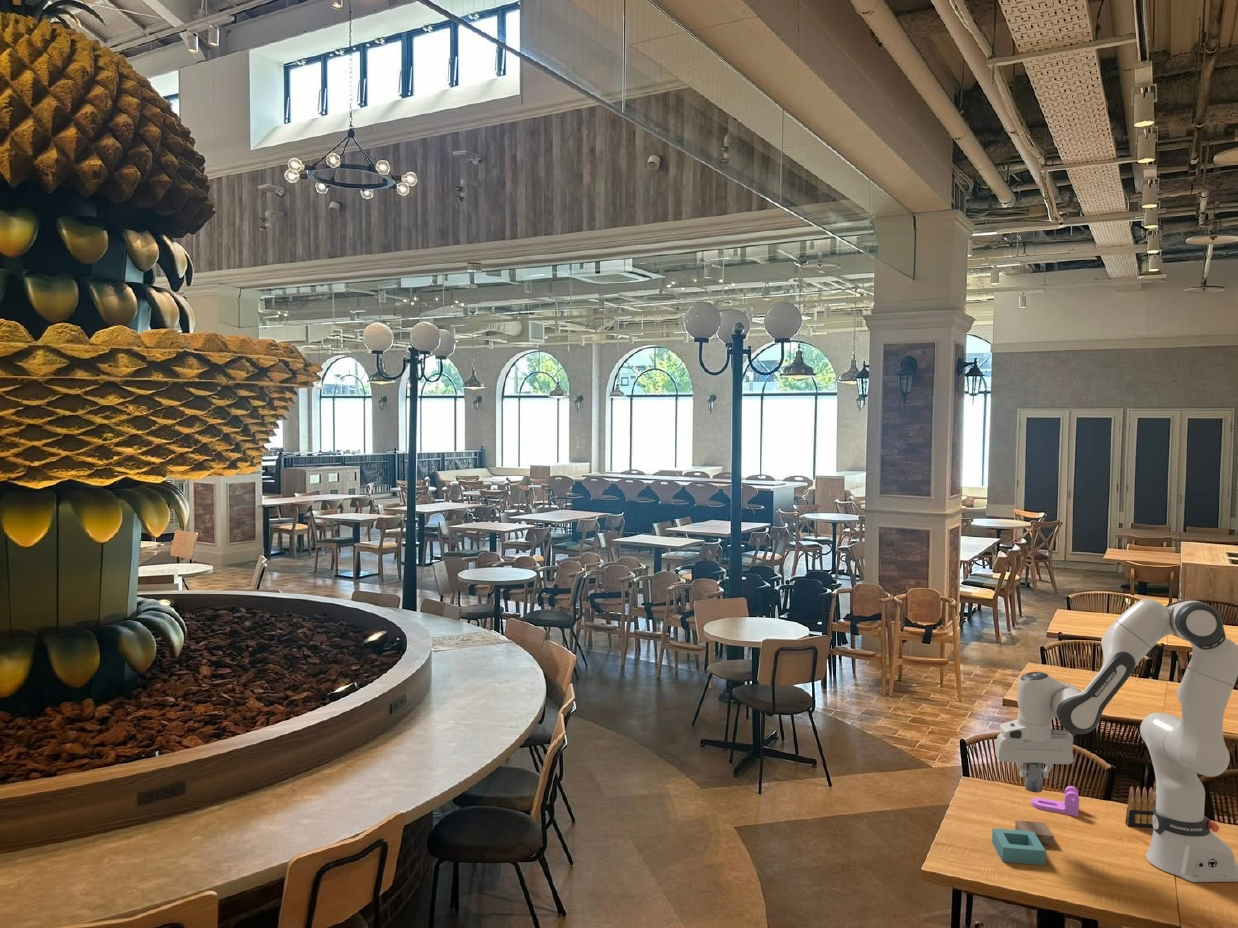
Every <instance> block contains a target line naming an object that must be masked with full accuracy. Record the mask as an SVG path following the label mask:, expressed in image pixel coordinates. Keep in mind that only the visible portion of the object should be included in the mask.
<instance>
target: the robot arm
mask: <svg viewBox="0 0 1238 928" xmlns="http://www.w3.org/2000/svg"><path fill="white" fill-rule="evenodd" d="M1170 635H1172V636H1174V637H1177V638H1179V639H1182V640H1183V641H1186V642H1189V644H1190V646H1191V647H1192V648H1191V649H1192V652H1191V658H1190V661H1189V662H1188V664H1187V667H1186V669H1185V672H1184V674H1183V677H1182V678H1181V681H1180V684H1179V686H1178V688H1177V692H1176V697H1177V699H1178V701H1179V704H1180V708H1181V718H1179V717H1177V716H1174V715H1173V714H1172V715H1171V714H1169V713H1162V712H1152V713H1149V714H1147V716H1145V717H1144V719H1143V720H1142V722H1141V723H1140V726H1139V732H1140V736H1141V739H1142V740H1143V742H1144V743H1145V744H1146V747H1147V750H1148V752H1149V755H1150V758H1151V762H1152V766H1153V771H1154V776H1155V792H1156V806H1155V807H1154V811H1153V828H1152V834H1151V835H1152V836H1151V841H1150V844H1149V848H1148V850H1147V851H1146V855H1145V857H1146V859H1147V862H1149V863H1150V864H1151V865H1153V866H1154V867H1156V868H1158V869H1159V870H1161V871H1164V872H1167V873H1169V874H1172V875H1175V876H1177V877H1180V878H1182V879H1184V880H1186V881H1188V882H1191V883H1217V882H1218V883H1220V882H1221V883H1223V882H1225V883H1228V882H1230V883H1231V882H1233V883H1238V863H1237V861H1236V858H1235V853H1234V852H1233V850H1232V849H1231V847H1230V846H1229V845H1228V844H1227V843H1226V842H1225V841H1223V839H1221V838H1220V837H1219V836H1218V835H1216V834H1215V833H1217V832H1218V831H1220V826H1219V825H1218V824H1216V822H1215V821H1212V820H1211V819H1210V818H1208V817H1207V816H1206V815H1205V804H1206V803H1205V802H1206V799H1205V798H1206V790H1205V787H1204V785H1203V783H1202V782H1201V780H1200V778H1199V776H1198V775H1200V776H1205V777H1210V778H1211V777H1212V778H1213V777H1217V776H1220V775H1221V774H1223V773H1224V772H1225V771H1226V769H1228V767H1229V764H1230V760H1231V759H1230V758H1231V756H1230V751H1229V750H1228V748H1227V745H1226V743H1225V739H1224V729H1223V728H1224V727H1223V726H1224V724H1223V723H1224V715H1225V711H1226V708H1227V705H1228V702H1229V699H1230V697H1231V695H1232V692H1233V690H1234V688H1235V685H1236V682H1237V679H1238V644H1236V642H1234V641H1233V640H1231V639H1230V638H1227V636H1226V631H1225V628H1224V623H1223V619H1222V617H1221V614H1220V613H1219V612H1218V610H1217V609H1216V608H1214V607H1213V606H1212V605H1210V604H1208V603H1205V602H1202V601H1198V600H1183V601H1178V602H1175V603H1171V604H1167V605H1163V604H1162V603H1161V602H1159V601H1156V600H1154V599H1150V598H1143V599H1142V598H1141V599H1139V601H1136V602H1135V603H1134V604H1132V605H1131V606H1129V608H1127V609H1126V610H1125V611H1124V612H1122V613H1121V615H1119V616H1118V617H1117V618H1116V619H1115V620H1114V621H1113V623H1112V624H1110V626H1108V628H1107V629H1106V631H1105V632H1104V634H1103V636H1102V637H1101V643H1100V645H1101V650H1102V654H1103V657H1102V658H1103V660H1102V661H1103V663H1102V666H1101V667H1100V670H1099V671H1098V672H1097V674H1096V675H1095V676H1094V677H1093V679H1092V680H1091V681H1090V682H1089V683H1088V685H1087V686H1086V687H1085V688H1084V689H1083V690H1082V691H1081V690H1080V689H1079V688H1077V687H1076V686H1074V685H1072V684H1070V683H1066V682H1062V681H1060V680H1057V679H1055V678H1054V677H1051V676H1050V675H1049V674H1048V673H1046V672H1043V671H1030V672H1026V673H1025V674H1023V675H1021V677H1020V679H1019V681H1018V687H1017V698H1016V699H1017V706H1018V713H1017V716H1016V717H1017V718H1015V719H1014V720H1010V721H1007V722H1003V723H1000V724H999V730H1000V733H999V734H998V735H997V737H996V743H995V756H996V758H997V759H998V760H999V761H1000V763H1001V762H1002V763H1015V764H1016V766H1017V768H1018V770H1019V776H1020V778H1025V777H1027V775H1026V774H1027V771H1026V770H1025V769H1024V768H1022V767H1023V766H1024V765H1023V764H1024V763H1042V764H1045V767H1044V769H1042V779H1049V773H1050V772H1051V770H1052V769H1053V768H1054V764H1055V765H1071V764H1072V763H1073V762H1074V752H1073V751H1074V750H1073V746H1072V745H1074V735H1073V734H1076V735H1084V734H1087V733H1091V732H1092V731H1094V730H1095V728H1097V727H1098V725H1099V723H1100V720H1101V718H1102V715H1103V712H1104V710H1105V708H1106V706H1108V704H1109V703H1110V702H1111V700H1112V699H1113V698H1114V697H1115V695H1116V694H1117V693H1118V692H1119V691H1120V689H1122V687H1123V686H1124V684H1126V682H1127V680H1129V678H1130V676H1131V675H1132V673H1133V672H1134V670H1135V669H1136V667H1137V666H1138V664H1139V663H1140V662H1141V661H1142V659H1143V658H1144V657H1145V656H1146V655H1147V654H1148V653H1149V652H1150V651H1151V650H1152V649H1153V648H1154V647H1155V645H1157V643H1158V642H1159V641H1160V640H1162V639H1163V638H1164V637H1167V636H1170ZM1053 719H1058V721H1059V723H1060V725H1061V726H1062V727H1063V729H1065V730H1062V729H1061V730H1059V729H1052V720H1053Z"/></svg>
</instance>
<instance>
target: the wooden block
mask: <svg viewBox="0 0 1238 928" xmlns="http://www.w3.org/2000/svg"><path fill="white" fill-rule="evenodd" d="M1014 830H1020V831H1033V832H1034V833H1035V834H1036V836H1037V838H1038V839H1039V841H1040V842H1041V844H1042V846H1048V847H1054V837H1055V836H1054V834H1053V832H1052V831H1051V830H1050V828H1049V826H1048V825H1047V823H1046V822H1041V821H1030V820H1027V821H1026V820H1015V826H1014Z"/></svg>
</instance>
